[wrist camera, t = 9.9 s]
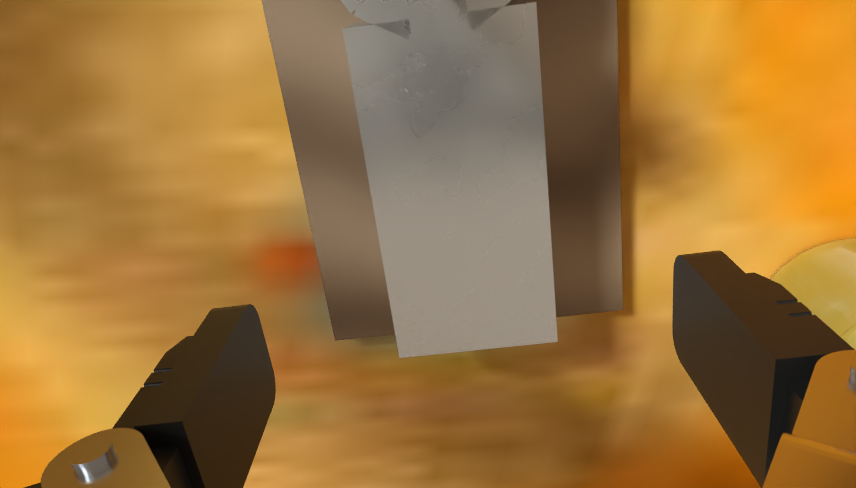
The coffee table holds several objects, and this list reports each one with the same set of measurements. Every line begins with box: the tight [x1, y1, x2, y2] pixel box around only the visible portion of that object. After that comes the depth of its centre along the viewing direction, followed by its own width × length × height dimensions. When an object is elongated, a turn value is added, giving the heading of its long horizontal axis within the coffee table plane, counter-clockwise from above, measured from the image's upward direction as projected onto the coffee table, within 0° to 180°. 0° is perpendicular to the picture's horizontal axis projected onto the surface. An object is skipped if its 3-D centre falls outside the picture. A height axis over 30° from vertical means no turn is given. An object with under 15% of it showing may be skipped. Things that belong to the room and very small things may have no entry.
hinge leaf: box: [341, 0, 558, 358], centre depth 19 cm, size 16×6×4 cm, turn 8°
